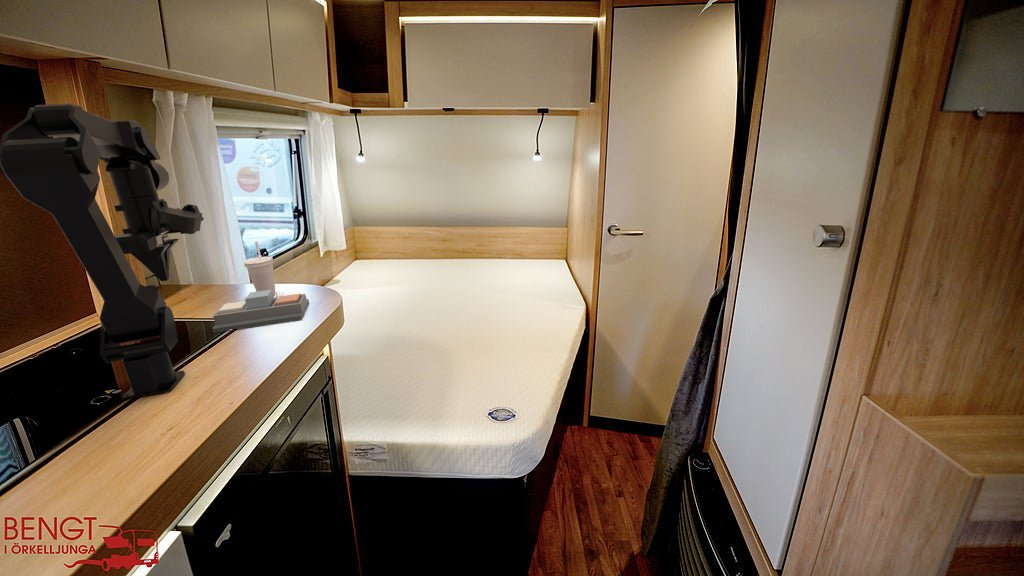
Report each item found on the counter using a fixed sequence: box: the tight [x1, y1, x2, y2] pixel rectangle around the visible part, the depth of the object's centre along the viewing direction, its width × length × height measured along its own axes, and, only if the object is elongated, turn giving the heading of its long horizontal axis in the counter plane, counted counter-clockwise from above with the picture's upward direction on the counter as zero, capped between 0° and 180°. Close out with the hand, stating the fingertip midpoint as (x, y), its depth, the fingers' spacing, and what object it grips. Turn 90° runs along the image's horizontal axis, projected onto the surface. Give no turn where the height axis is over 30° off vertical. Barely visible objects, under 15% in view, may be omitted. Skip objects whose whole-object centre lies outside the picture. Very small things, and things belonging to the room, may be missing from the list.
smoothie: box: [243, 241, 277, 296], centre depth 114 cm, size 6×6×14 cm
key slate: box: [244, 290, 275, 310], centre depth 101 cm, size 4×4×2 cm
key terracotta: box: [275, 293, 301, 306], centre depth 103 cm, size 4×4×2 cm
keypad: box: [212, 293, 310, 334], centre depth 102 cm, size 11×17×3 cm, turn 105°
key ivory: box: [218, 300, 247, 314], centre depth 101 cm, size 4×4×2 cm
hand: (165, 280), depth 88 cm, fingers closed
